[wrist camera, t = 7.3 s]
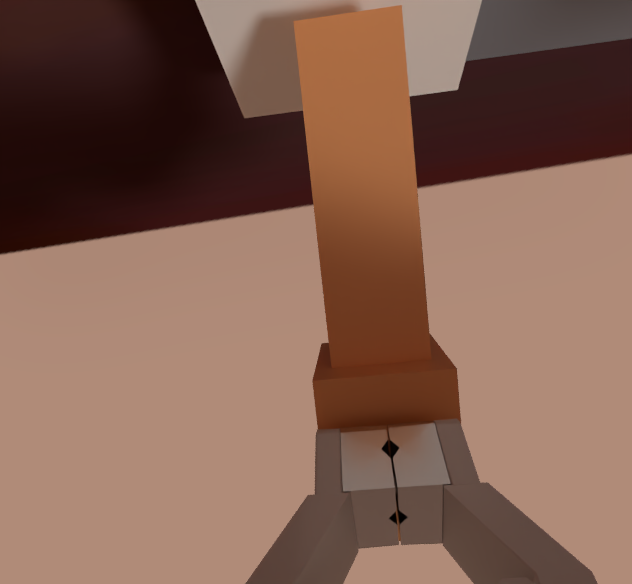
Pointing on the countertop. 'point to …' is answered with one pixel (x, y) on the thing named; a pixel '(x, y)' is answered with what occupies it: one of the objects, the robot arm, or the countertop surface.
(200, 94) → the countertop surface
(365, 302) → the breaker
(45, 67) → the countertop surface
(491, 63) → the countertop surface
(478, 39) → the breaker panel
